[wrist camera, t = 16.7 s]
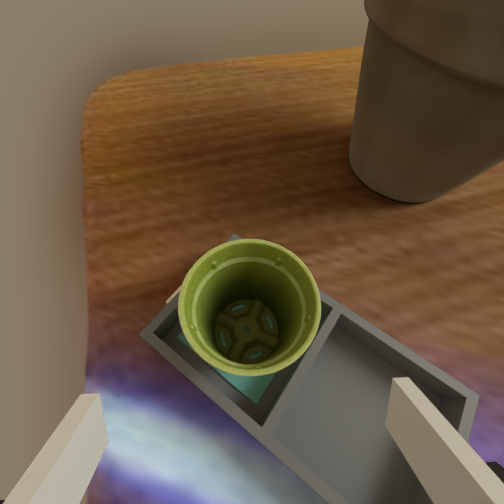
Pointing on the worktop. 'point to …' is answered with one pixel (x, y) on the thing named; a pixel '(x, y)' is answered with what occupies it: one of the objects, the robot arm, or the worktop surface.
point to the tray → (326, 403)
